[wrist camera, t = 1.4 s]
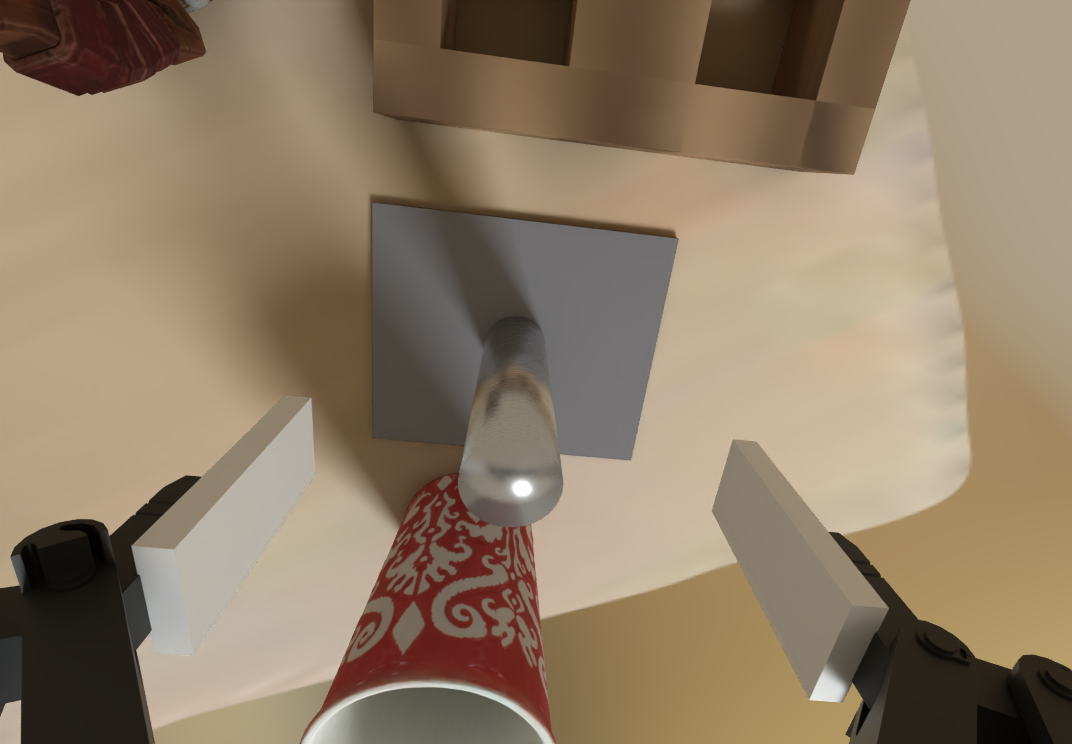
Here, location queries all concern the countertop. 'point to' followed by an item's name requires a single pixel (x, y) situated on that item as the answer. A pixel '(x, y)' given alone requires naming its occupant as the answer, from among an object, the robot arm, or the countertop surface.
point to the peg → (512, 430)
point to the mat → (512, 290)
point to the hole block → (648, 81)
